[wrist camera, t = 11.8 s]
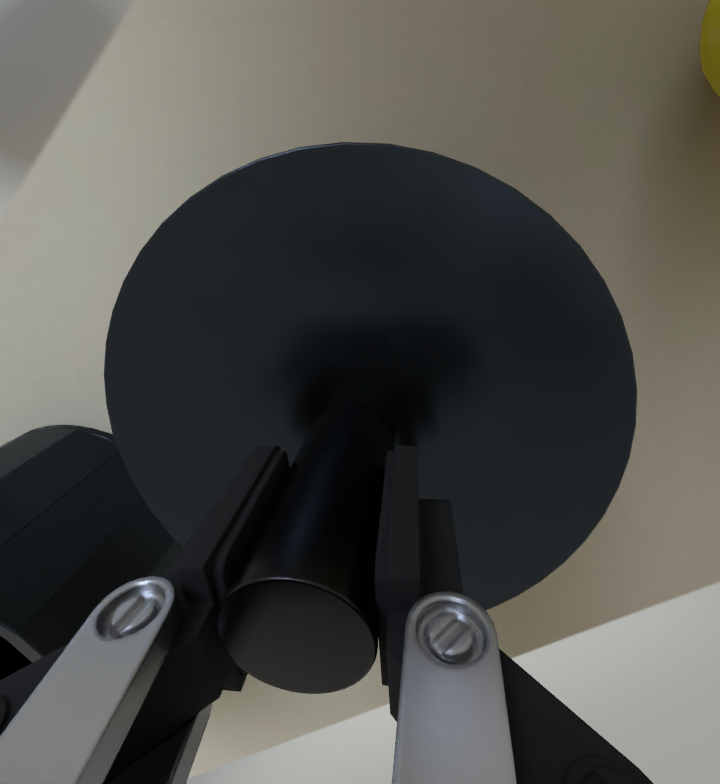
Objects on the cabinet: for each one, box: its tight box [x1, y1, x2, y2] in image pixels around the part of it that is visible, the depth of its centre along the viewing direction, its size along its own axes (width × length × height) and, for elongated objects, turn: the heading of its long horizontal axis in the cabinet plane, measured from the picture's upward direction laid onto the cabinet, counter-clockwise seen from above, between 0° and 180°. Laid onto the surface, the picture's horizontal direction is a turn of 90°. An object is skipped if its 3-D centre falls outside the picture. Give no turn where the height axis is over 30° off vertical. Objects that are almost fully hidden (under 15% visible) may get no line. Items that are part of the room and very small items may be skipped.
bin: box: [0, 425, 183, 680], centre depth 22 cm, size 15×15×10 cm
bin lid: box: [104, 142, 637, 694], centre depth 10 cm, size 16×16×7 cm
